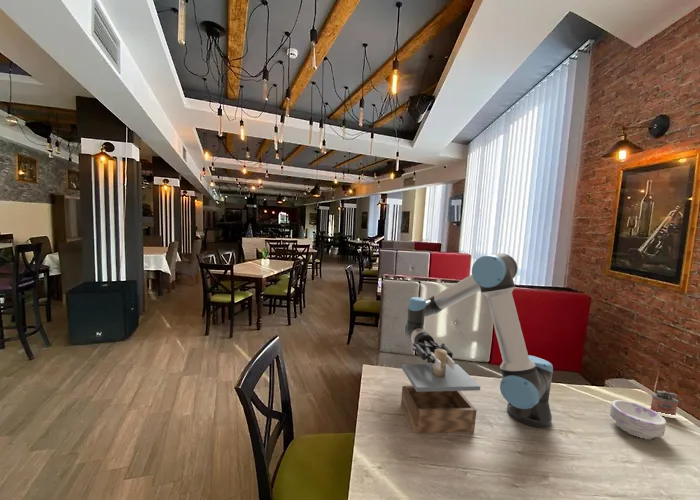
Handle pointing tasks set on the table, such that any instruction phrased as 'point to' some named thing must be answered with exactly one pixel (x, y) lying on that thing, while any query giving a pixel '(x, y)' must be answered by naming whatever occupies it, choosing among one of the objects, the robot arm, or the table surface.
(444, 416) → the brown wooden open box
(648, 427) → the paper bowls
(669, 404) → the lighter
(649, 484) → the table surface
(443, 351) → the lid
